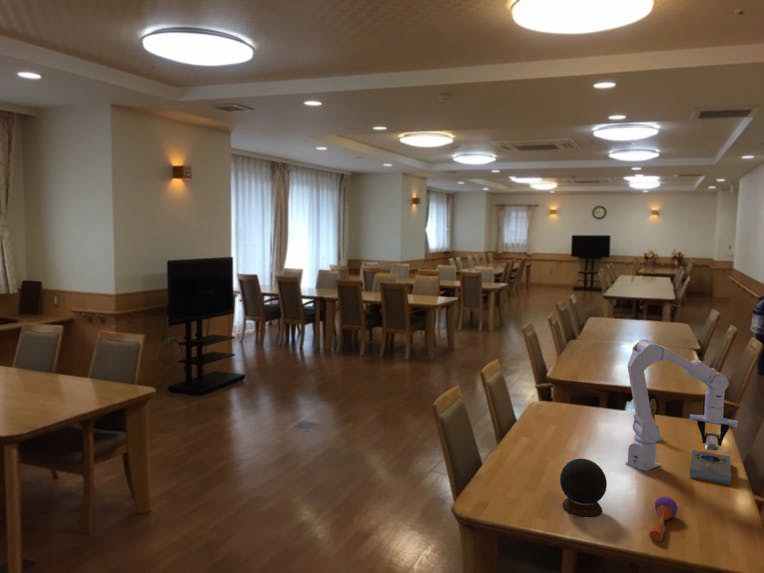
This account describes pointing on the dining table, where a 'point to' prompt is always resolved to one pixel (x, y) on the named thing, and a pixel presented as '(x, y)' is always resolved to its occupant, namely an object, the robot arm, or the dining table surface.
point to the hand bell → (653, 411)
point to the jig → (710, 467)
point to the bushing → (712, 441)
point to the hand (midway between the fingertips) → (711, 443)
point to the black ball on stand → (583, 487)
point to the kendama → (663, 516)
